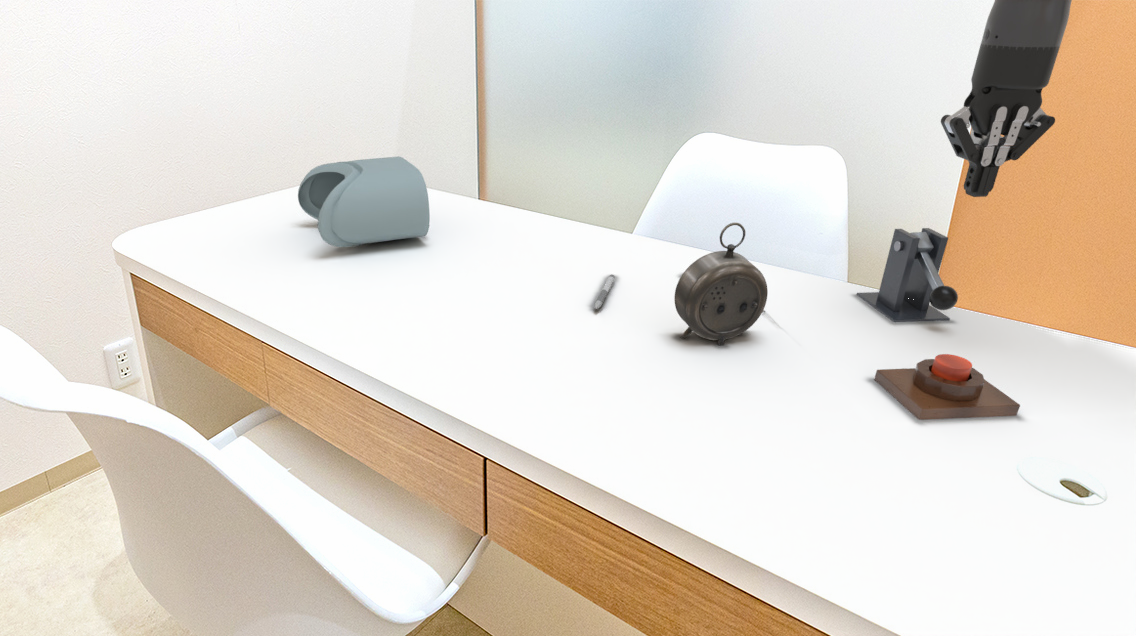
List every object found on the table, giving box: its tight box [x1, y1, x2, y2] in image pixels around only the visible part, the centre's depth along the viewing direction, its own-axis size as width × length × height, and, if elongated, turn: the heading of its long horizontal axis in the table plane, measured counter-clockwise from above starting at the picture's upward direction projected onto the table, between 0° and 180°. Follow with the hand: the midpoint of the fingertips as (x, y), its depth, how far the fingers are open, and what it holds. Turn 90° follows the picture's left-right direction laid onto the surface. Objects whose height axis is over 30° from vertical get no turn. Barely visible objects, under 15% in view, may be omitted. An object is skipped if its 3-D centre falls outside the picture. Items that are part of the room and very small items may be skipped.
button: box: [931, 353, 973, 382], centre depth 82 cm, size 4×4×2 cm
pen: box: [594, 274, 615, 310], centre depth 112 cm, size 1×14×1 cm, turn 163°
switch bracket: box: [856, 227, 951, 323], centre depth 105 cm, size 10×8×12 cm
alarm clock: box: [674, 222, 768, 347], centre depth 94 cm, size 11×5×16 cm, turn 100°
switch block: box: [873, 358, 1021, 421], centre depth 83 cm, size 11×9×4 cm
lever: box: [910, 231, 959, 311], centre depth 100 cm, size 12×3×3 cm, turn 4°
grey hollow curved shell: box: [297, 156, 431, 248], centre depth 134 cm, size 22×19×13 cm
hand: (976, 195), depth 91 cm, fingers closed
